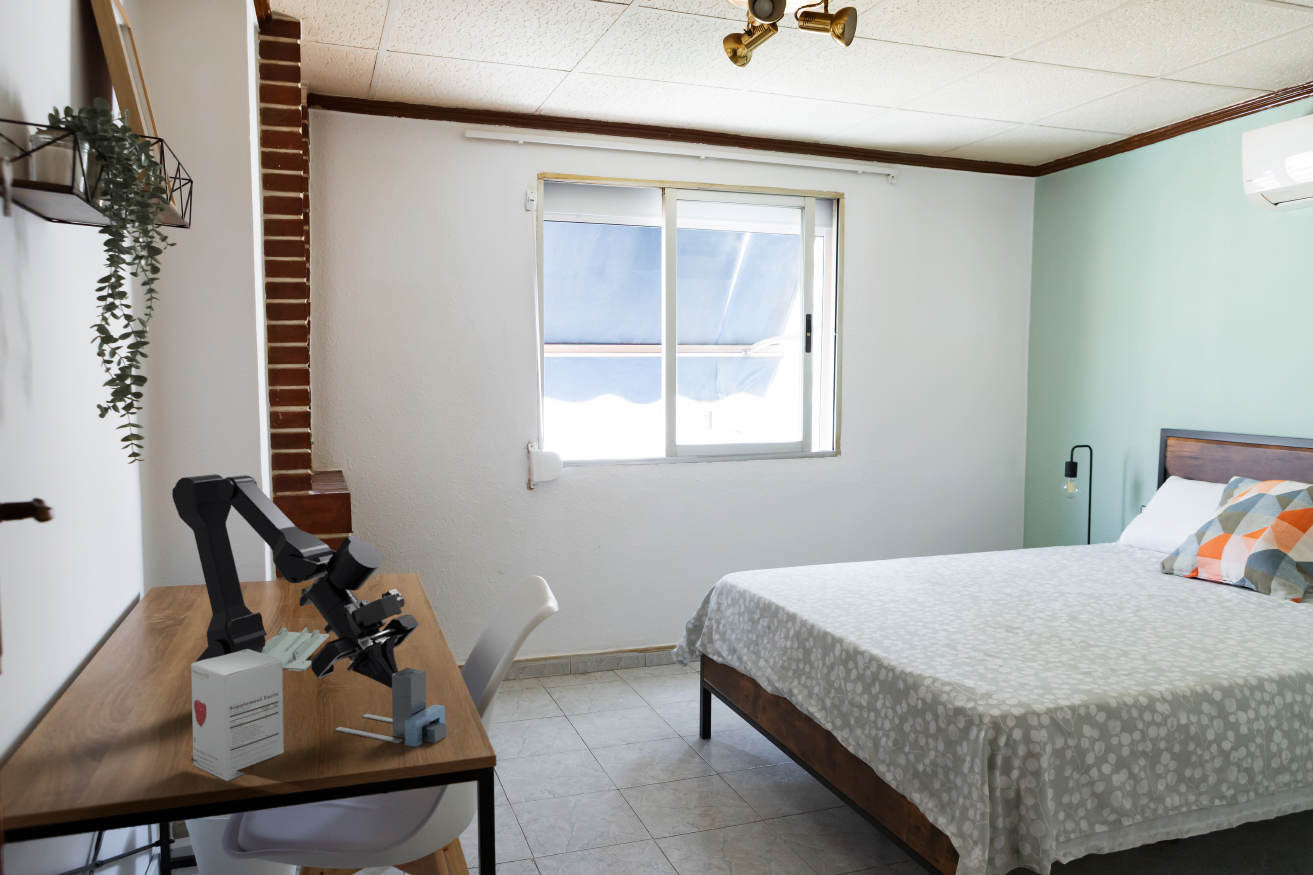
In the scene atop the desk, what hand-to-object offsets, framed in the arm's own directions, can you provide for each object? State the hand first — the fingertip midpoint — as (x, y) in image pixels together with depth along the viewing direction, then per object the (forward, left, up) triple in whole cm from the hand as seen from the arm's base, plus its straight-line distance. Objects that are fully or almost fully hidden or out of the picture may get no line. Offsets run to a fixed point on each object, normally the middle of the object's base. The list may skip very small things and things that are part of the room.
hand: (398, 687), depth 135 cm
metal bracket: (+10, +51, -9) cm, 53 cm away
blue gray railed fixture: (0, +2, -8) cm, 8 cm away
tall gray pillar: (+1, -4, -7) cm, 8 cm away
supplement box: (-20, +10, -8) cm, 24 cm away
